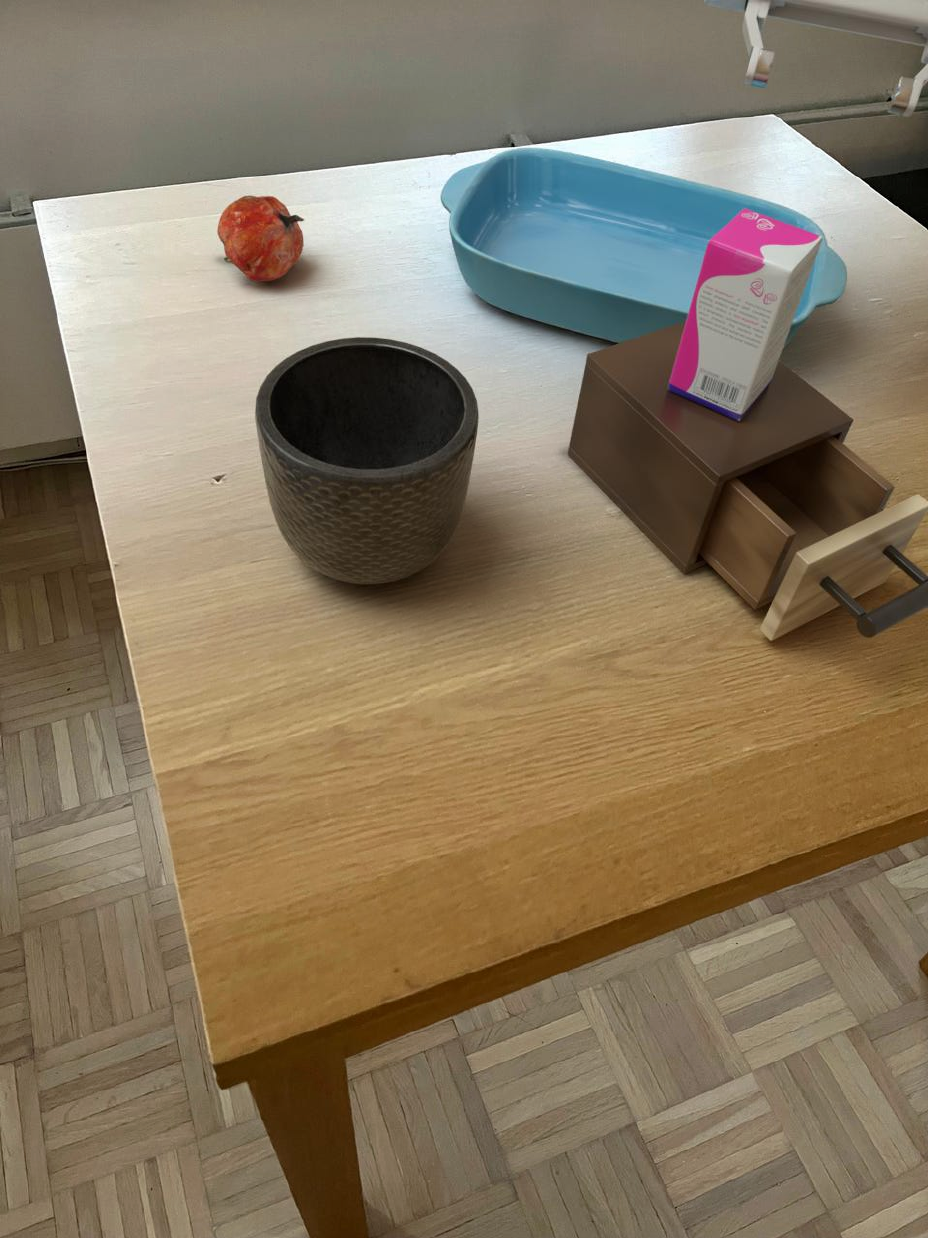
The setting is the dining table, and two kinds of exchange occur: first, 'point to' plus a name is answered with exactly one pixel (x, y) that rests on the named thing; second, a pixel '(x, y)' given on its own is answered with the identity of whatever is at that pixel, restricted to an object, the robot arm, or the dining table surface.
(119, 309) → the dining table surface
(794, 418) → the cabinet
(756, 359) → the supplement box
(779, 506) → the drawer
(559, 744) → the dining table surface
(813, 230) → the casserole dish
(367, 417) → the planter
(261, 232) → the pomegranate
